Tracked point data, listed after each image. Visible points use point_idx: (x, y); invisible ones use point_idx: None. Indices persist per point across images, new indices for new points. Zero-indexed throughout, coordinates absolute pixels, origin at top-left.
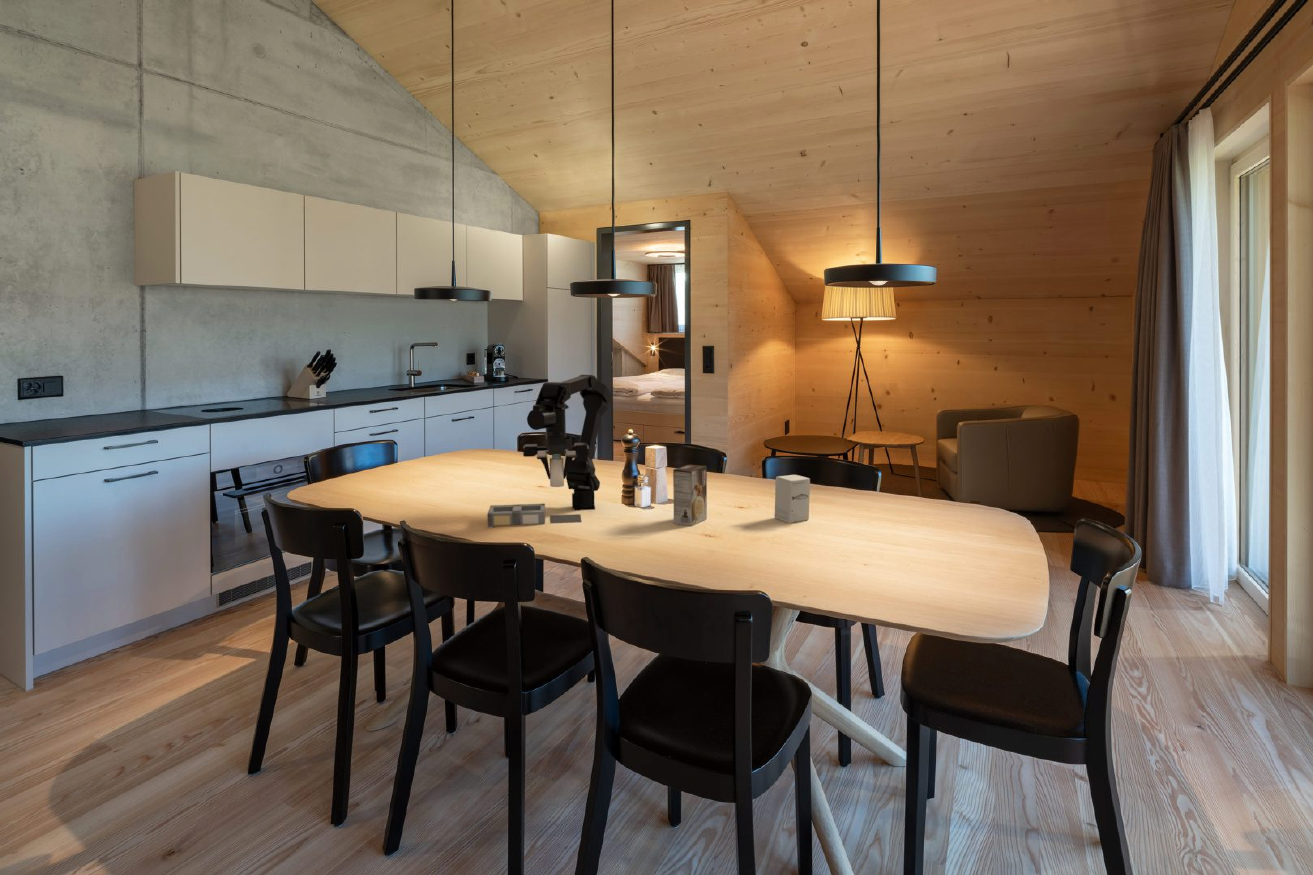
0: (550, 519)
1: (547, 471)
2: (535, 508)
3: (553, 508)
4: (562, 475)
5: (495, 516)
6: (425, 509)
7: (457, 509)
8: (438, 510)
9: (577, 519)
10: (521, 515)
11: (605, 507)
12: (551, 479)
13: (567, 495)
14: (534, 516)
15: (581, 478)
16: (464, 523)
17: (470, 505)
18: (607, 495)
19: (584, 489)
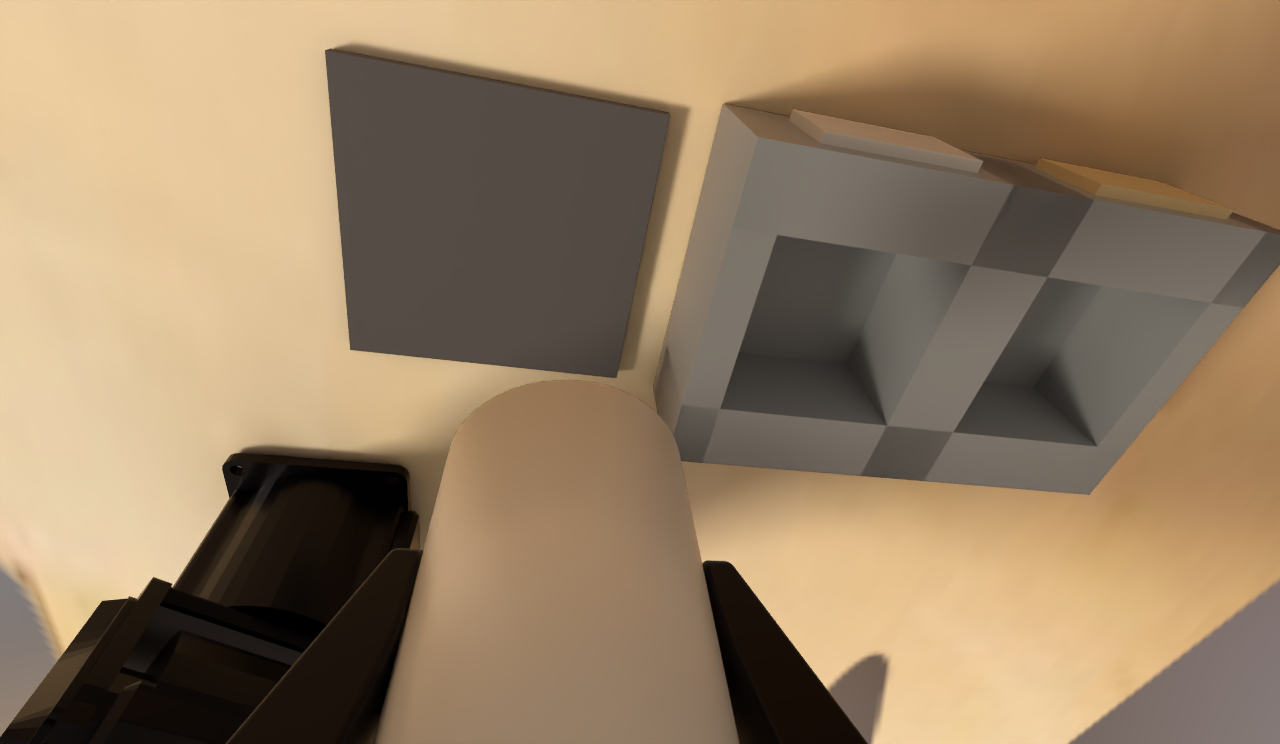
0: (638, 254)
1: (808, 708)
2: (761, 396)
3: None
4: (434, 581)
5: (1219, 205)
6: (1197, 638)
7: (1073, 617)
8: (1160, 617)
9: (375, 177)
10: (984, 173)
11: (150, 509)
12: (689, 524)
13: None
14: (856, 132)
15: (188, 720)
16: (1231, 358)
17: (980, 662)
18: None
19: (242, 621)
